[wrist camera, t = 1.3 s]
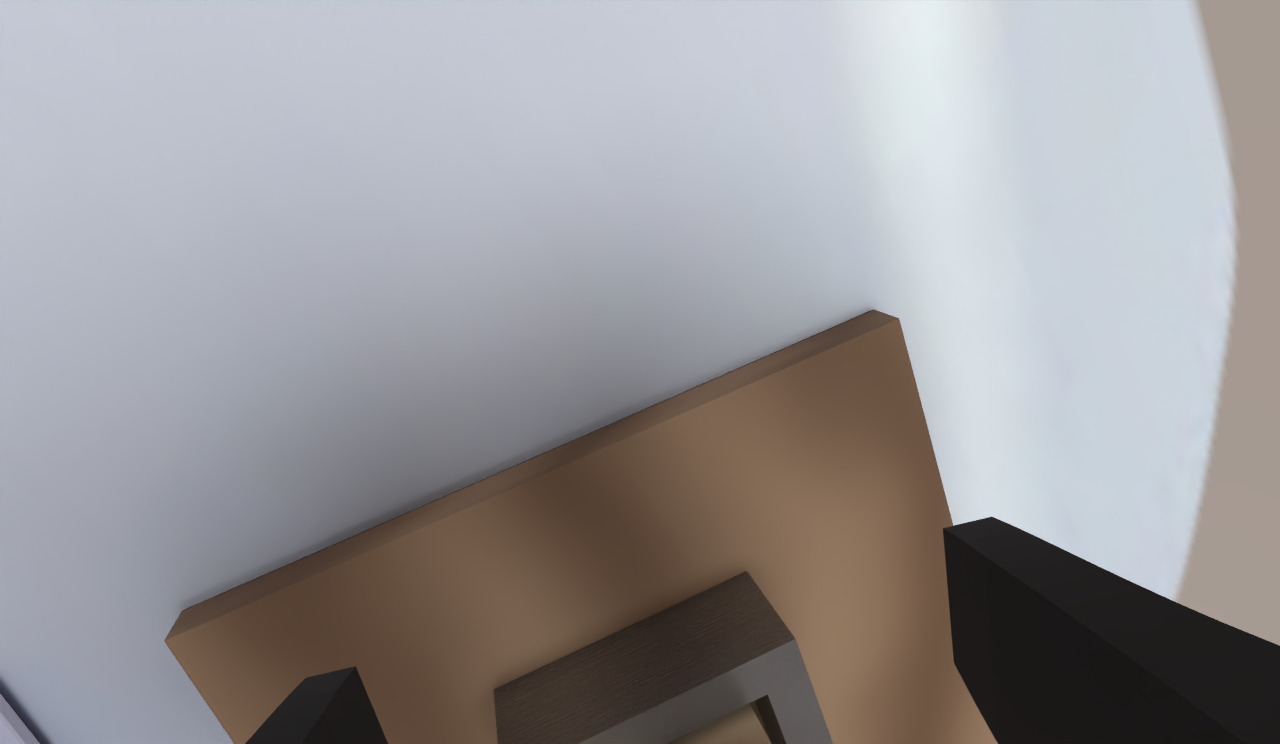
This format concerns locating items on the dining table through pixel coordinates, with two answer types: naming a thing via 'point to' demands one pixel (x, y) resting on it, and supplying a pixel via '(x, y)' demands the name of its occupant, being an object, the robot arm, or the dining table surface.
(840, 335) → the board
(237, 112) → the dining table surface
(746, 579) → the sleeve
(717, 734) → the post
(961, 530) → the robot arm
